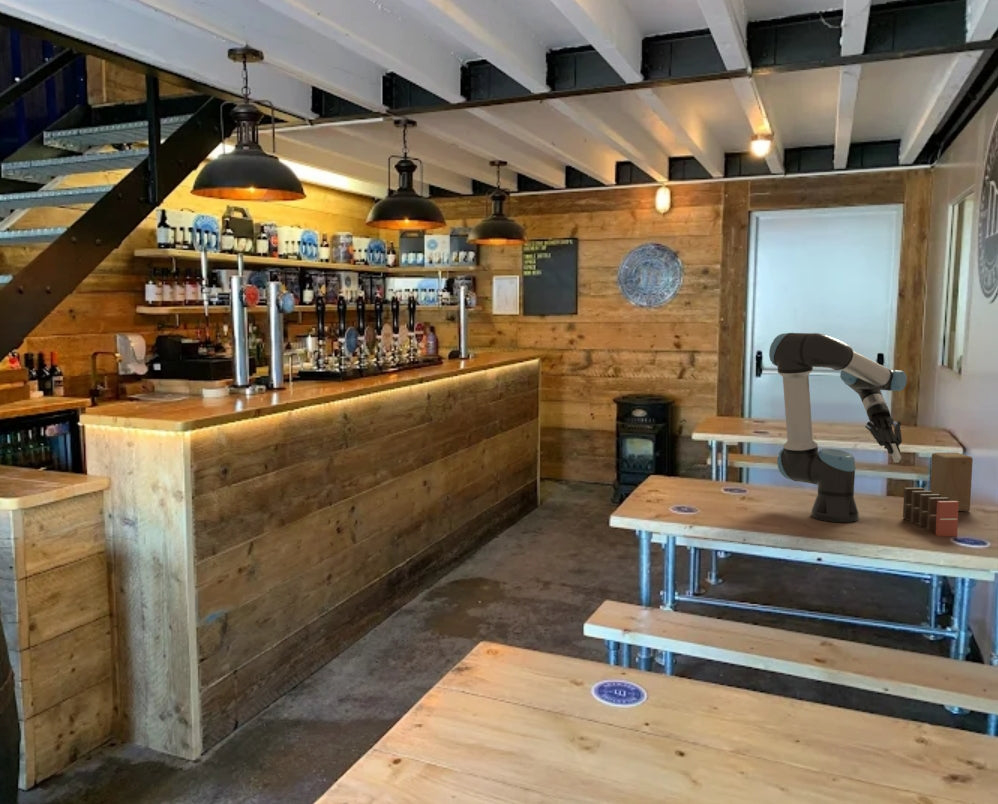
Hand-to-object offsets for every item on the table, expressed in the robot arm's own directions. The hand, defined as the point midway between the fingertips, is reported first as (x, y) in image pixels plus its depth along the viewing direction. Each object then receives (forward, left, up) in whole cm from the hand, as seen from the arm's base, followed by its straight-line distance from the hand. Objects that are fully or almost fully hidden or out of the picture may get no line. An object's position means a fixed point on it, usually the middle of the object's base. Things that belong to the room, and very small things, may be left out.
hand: (897, 460), depth 282 cm
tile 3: (+5, -23, -18) cm, 30 cm away
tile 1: (+2, -13, -18) cm, 23 cm away
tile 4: (+6, -28, -18) cm, 34 cm away
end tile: (+8, -33, -18) cm, 38 cm away
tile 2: (+4, -18, -18) cm, 26 cm away
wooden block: (+19, +6, -18) cm, 27 cm away
